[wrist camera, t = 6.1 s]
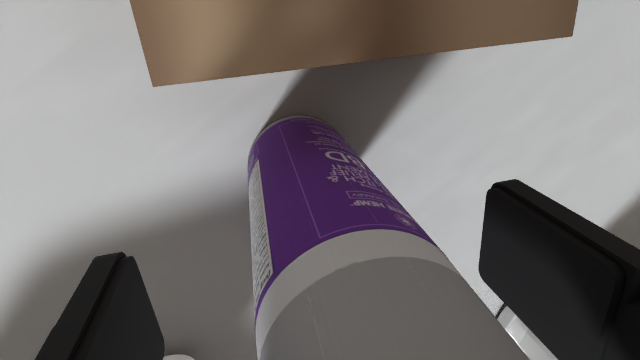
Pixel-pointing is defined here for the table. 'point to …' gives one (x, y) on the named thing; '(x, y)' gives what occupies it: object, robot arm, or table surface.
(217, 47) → the socket block
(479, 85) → the table surface
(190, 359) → the cable organizer
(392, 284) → the container
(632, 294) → the robot arm
